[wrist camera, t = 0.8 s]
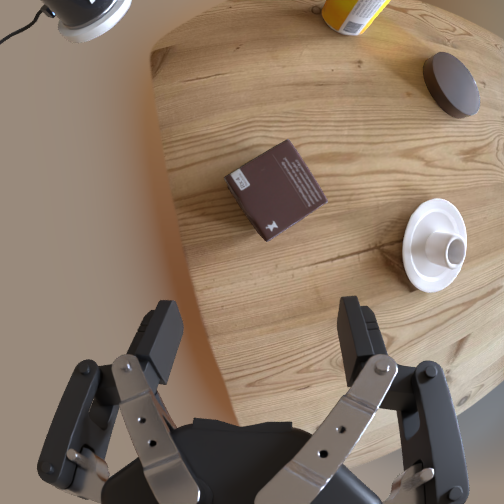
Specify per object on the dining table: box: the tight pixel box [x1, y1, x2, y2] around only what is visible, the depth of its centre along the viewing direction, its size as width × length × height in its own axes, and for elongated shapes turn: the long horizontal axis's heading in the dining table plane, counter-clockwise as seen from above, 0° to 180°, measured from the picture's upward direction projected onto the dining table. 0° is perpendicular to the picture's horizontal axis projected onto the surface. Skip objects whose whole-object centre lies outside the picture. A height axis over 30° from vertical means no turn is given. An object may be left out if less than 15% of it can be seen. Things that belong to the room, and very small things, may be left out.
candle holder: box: [402, 199, 467, 293], centre depth 28 cm, size 12×12×4 cm
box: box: [224, 139, 328, 242], centre depth 24 cm, size 6×6×7 cm
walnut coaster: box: [423, 52, 480, 118], centre depth 26 cm, size 10×10×2 cm
